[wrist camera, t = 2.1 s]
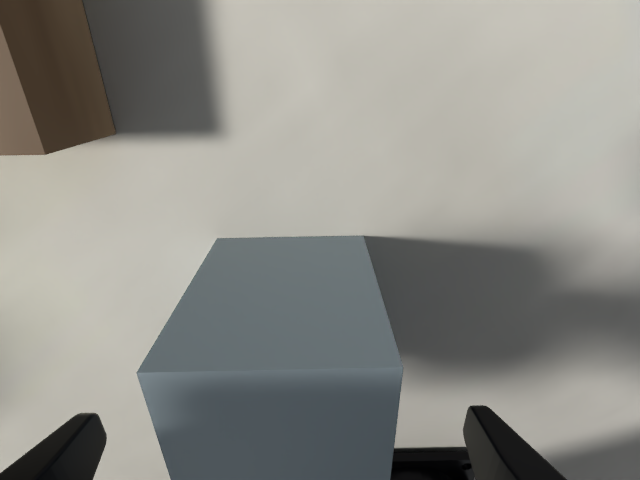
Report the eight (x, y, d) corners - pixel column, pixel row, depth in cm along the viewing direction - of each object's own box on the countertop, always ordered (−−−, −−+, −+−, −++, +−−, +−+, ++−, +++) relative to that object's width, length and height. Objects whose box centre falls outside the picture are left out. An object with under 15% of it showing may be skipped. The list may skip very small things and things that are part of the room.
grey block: (363, 235, 12) (403, 367, 7) (358, 347, 14) (385, 517, 9) (217, 237, 12) (136, 372, 7) (234, 350, 14) (184, 522, 9)
